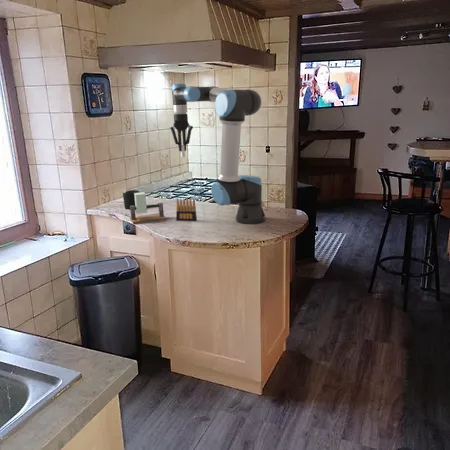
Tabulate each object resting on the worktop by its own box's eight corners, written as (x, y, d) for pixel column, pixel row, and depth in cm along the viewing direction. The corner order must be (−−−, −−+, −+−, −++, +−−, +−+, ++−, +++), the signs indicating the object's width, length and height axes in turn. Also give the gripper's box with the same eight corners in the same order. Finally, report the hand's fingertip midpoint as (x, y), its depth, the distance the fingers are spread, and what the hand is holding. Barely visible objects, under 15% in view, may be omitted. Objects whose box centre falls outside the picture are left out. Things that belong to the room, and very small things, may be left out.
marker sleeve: (146, 212, 227) (145, 193, 224) (137, 213, 225) (135, 194, 222) (145, 210, 231) (143, 192, 228) (135, 211, 230) (134, 193, 227)
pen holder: (142, 208, 255) (140, 192, 253) (126, 210, 251) (124, 194, 248) (137, 205, 263) (136, 189, 261) (122, 207, 259) (120, 191, 257)
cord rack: (165, 220, 228) (164, 205, 225) (133, 224, 222) (132, 208, 220) (161, 215, 239) (159, 200, 236) (130, 218, 233) (128, 204, 231)
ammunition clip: (176, 220, 227) (175, 198, 224) (177, 219, 228) (176, 197, 225) (195, 221, 224) (194, 198, 221) (196, 220, 226) (195, 197, 223)
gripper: (190, 113, 240) (192, 155, 246) (167, 113, 236) (170, 157, 242) (193, 113, 233) (196, 156, 240) (170, 114, 229) (173, 158, 235)
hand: (183, 157), depth 241 cm, fingers closed
